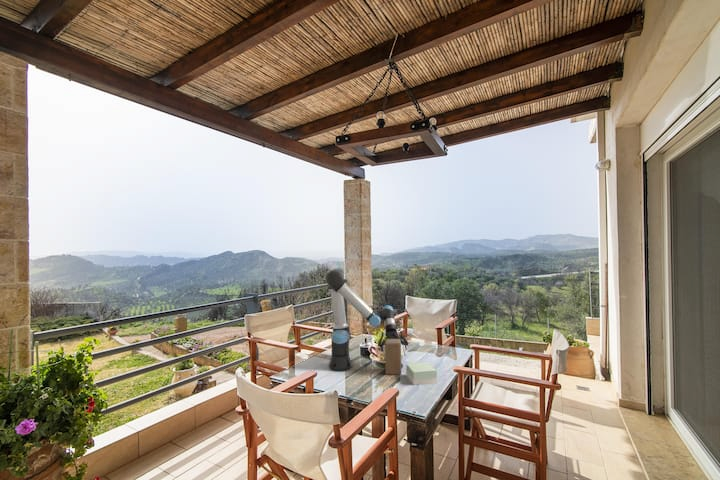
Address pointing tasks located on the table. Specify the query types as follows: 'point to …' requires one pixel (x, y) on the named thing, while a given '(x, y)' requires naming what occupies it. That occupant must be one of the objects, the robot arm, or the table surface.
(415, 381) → the tower base slab
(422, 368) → the tower top slab
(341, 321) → the robot arm
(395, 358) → the wooden block
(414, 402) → the table surface
